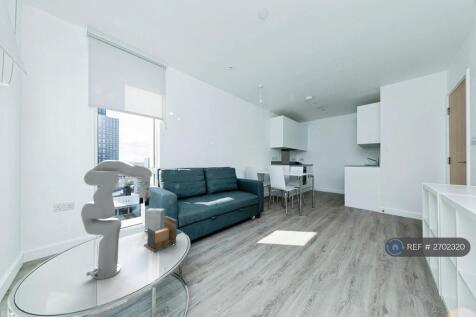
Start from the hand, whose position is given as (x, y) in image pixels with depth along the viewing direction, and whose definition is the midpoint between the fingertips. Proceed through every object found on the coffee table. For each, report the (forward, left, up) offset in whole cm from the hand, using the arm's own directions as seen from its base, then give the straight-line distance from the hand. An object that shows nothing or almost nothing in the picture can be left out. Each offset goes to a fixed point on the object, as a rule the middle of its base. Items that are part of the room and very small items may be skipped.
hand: (144, 204), depth 142 cm
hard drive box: (+18, +16, -31) cm, 39 cm away
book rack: (+7, -14, -30) cm, 34 cm away
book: (+7, -14, -29) cm, 33 cm away
